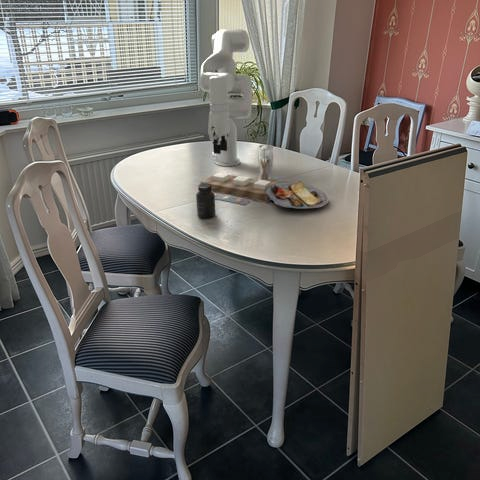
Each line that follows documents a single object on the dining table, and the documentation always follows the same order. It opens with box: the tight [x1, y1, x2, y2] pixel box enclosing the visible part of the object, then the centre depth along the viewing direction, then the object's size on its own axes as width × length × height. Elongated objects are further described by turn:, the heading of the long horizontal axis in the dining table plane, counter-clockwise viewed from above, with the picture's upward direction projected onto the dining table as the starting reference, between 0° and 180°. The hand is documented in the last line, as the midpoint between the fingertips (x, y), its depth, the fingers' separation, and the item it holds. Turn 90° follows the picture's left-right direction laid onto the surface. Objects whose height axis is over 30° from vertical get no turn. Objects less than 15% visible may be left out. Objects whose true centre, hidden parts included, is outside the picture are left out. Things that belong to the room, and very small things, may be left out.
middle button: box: [233, 175, 251, 186], centre depth 198 cm, size 5×5×3 cm
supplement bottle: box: [195, 183, 216, 220], centre depth 172 cm, size 7×7×12 cm
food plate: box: [265, 180, 329, 210], centre depth 186 cm, size 25×23×4 cm
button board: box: [200, 174, 277, 203], centre depth 198 cm, size 32×14×3 cm, turn 60°
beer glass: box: [257, 144, 275, 182], centre depth 208 cm, size 7×7×15 cm
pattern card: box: [213, 192, 252, 206], centre depth 190 cm, size 20×5×1 cm, turn 60°
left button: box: [212, 172, 230, 183], centre depth 202 cm, size 5×5×3 cm
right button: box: [254, 179, 272, 190], centre depth 193 cm, size 5×5×3 cm
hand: (220, 151), depth 197 cm, fingers open, 4 cm apart
